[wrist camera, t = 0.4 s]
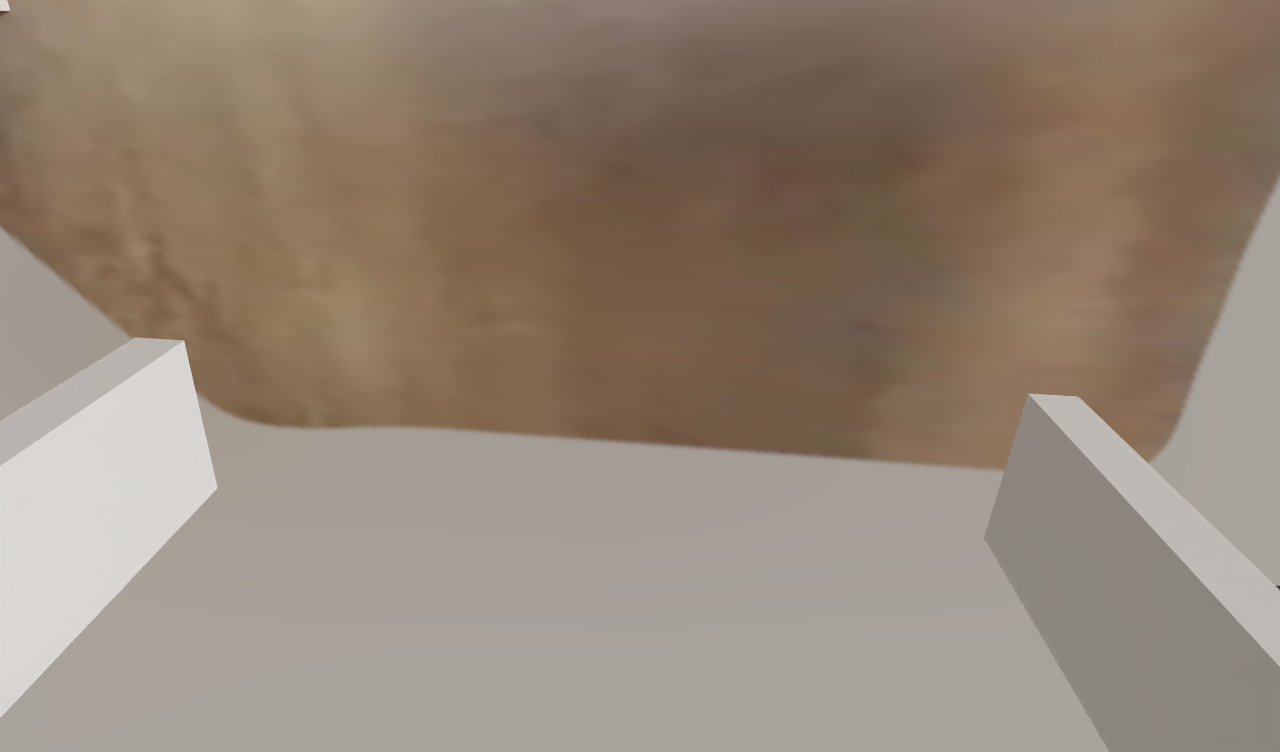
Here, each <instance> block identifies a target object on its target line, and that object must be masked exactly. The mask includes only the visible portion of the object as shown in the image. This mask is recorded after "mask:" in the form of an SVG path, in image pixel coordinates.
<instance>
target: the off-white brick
mask: <svg viewBox="0 0 1280 752" xmlns="http://www.w3.org/2000/svg"><path fill="white" fill-rule="evenodd" d="M0 11H10V9H9V5H8V2H7V0H0Z"/></svg>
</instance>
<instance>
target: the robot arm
mask: <svg viewBox="0 0 1280 752" xmlns="http://www.w3.org/2000/svg"><path fill="white" fill-rule="evenodd" d="M216 489H217V484H216V479H215V475H214V470H213V466H212V462H211V457H210V453H209V449H208V444H207V440H206V435H205V431H204V427H203V422H202V418H201V413H200V409H199V405H198V401H197V396H196V392H195V387H194V383H193V378H192V374H191V370H190V365H189V361H188V356H187V352H186V348H185V343H184V341H181V340H165V339H149V338H134V339H132V340H131V341H129V342H127V343H126V344H124V345H123V346H121V347H119V348H118V349H116V350H115V351H113V352H111V353H110V354H108V355H106V356H105V357H103V358H102V359H100V360H98V361H97V362H95V363H93V364H92V365H90V366H89V367H87V368H85V369H84V370H82V371H80V372H79V373H77V374H75V375H74V376H72V377H71V378H69V379H67V380H66V381H64V382H62V383H61V384H59V385H58V386H56V387H54V388H53V389H51V390H49V391H48V392H46V393H45V394H43V395H41V396H40V397H38V398H36V399H35V400H33V401H32V402H30V403H28V404H27V405H25V406H24V407H22V408H20V409H19V410H17V411H15V412H14V413H12V414H10V415H9V416H7V417H5V418H4V419H2V420H1V421H0V717H1V716H2V715H3V714H4V713H5V712H6V711H7V710H8V709H9V708H10V707H11V706H12V705H13V704H14V703H15V701H16V700H17V699H18V698H19V697H20V696H21V695H22V694H23V693H24V692H25V691H26V690H27V689H28V688H29V687H30V686H31V685H32V683H33V682H34V681H35V680H36V679H37V678H38V677H39V676H40V675H41V674H42V673H43V672H44V671H45V670H46V669H47V668H48V667H49V666H50V664H51V663H52V662H53V661H54V660H55V659H56V658H57V657H58V656H59V655H60V654H61V653H62V652H63V651H64V650H65V649H66V648H67V647H68V646H69V644H70V643H71V642H72V641H73V640H74V639H75V638H76V637H77V636H78V635H79V634H80V633H81V632H82V630H84V629H85V628H86V626H87V625H88V624H89V623H90V622H91V621H92V620H93V619H94V618H95V617H96V616H97V615H98V614H99V613H100V612H101V611H102V610H103V609H104V607H105V606H106V605H107V604H108V603H109V602H110V601H111V600H112V599H113V598H114V596H116V595H117V594H118V593H119V592H120V591H121V590H122V588H123V587H124V586H125V585H126V584H127V583H128V582H129V581H130V580H131V579H132V578H133V577H134V576H135V575H136V574H137V573H138V572H139V571H140V569H141V568H142V567H143V566H144V565H145V564H146V563H147V562H148V561H149V560H150V559H151V558H152V557H153V556H154V555H155V554H156V553H157V551H158V550H159V549H160V548H161V547H162V546H163V545H164V544H165V543H166V542H167V541H168V540H169V539H170V538H171V537H172V536H173V534H175V532H176V531H177V530H178V529H179V528H180V527H181V526H182V525H183V524H184V523H185V522H186V521H187V520H188V519H189V518H190V516H192V514H193V513H194V512H195V511H196V510H197V509H198V508H199V507H200V506H201V505H202V504H203V503H204V502H205V501H206V500H207V499H208V498H209V497H210V496H211V494H212V493H213V492H214V491H215V490H216ZM984 539H985V541H986V542H987V544H988V545H989V547H990V549H991V551H992V552H993V554H994V556H995V558H996V559H997V561H998V563H999V564H1000V566H1001V568H1002V570H1003V571H1004V573H1005V575H1006V576H1007V578H1008V579H1009V581H1010V583H1011V585H1012V587H1013V588H1014V590H1015V592H1016V593H1017V595H1018V597H1019V598H1020V600H1021V602H1022V604H1023V605H1024V607H1025V609H1026V610H1027V612H1028V614H1029V615H1030V617H1031V619H1032V621H1033V622H1034V624H1035V626H1036V627H1037V629H1038V631H1039V633H1040V634H1041V636H1042V638H1043V639H1044V641H1045V643H1046V644H1047V646H1048V648H1049V650H1050V651H1051V653H1052V655H1053V656H1054V658H1055V660H1056V661H1057V663H1058V665H1059V667H1060V668H1061V670H1062V672H1063V673H1064V675H1065V677H1066V679H1067V680H1068V682H1069V683H1070V685H1071V687H1072V689H1073V691H1074V692H1075V694H1076V696H1077V697H1078V699H1079V701H1080V702H1081V704H1082V706H1083V707H1084V709H1085V711H1086V713H1087V714H1088V716H1089V718H1090V719H1091V721H1092V723H1093V725H1094V726H1095V728H1096V730H1097V731H1098V733H1099V735H1100V736H1101V738H1102V740H1103V742H1104V743H1105V745H1106V747H1107V748H1108V750H1109V752H1280V586H1275V585H1273V583H1272V582H1271V581H1270V580H1269V579H1268V578H1266V577H1265V576H1264V575H1263V574H1262V573H1261V572H1260V571H1259V570H1258V569H1257V568H1256V567H1255V566H1254V565H1253V564H1252V563H1251V562H1250V561H1249V560H1248V559H1247V558H1246V557H1245V556H1244V555H1243V554H1242V553H1240V552H1239V551H1238V550H1237V549H1236V548H1235V547H1234V546H1233V545H1232V544H1231V543H1230V542H1229V541H1228V540H1227V539H1226V538H1225V537H1224V536H1223V535H1222V534H1221V533H1220V532H1219V531H1218V530H1217V529H1216V528H1214V527H1213V526H1212V525H1211V524H1210V523H1209V522H1208V521H1207V520H1206V519H1205V518H1204V517H1203V516H1202V515H1201V514H1200V513H1199V512H1198V511H1197V510H1196V509H1195V508H1194V507H1192V506H1191V504H1189V503H1188V502H1187V501H1186V500H1185V499H1184V498H1183V497H1182V496H1181V495H1180V494H1179V493H1178V492H1177V491H1176V490H1175V489H1174V488H1173V487H1172V486H1171V485H1170V484H1169V483H1168V482H1167V481H1166V480H1164V479H1163V478H1162V477H1161V476H1160V475H1159V474H1158V473H1157V472H1156V471H1155V470H1154V469H1153V468H1152V467H1151V466H1150V465H1149V464H1148V463H1147V462H1146V461H1145V460H1144V459H1143V458H1142V457H1141V456H1139V455H1138V454H1137V453H1136V452H1135V451H1134V450H1133V449H1132V448H1131V447H1130V446H1129V445H1128V444H1127V443H1126V442H1125V441H1124V440H1123V439H1122V438H1121V437H1120V436H1119V435H1118V434H1117V433H1116V432H1114V431H1113V430H1112V429H1111V428H1110V427H1109V426H1108V425H1107V424H1106V423H1105V422H1104V421H1103V420H1102V419H1101V418H1100V417H1099V416H1098V415H1097V414H1096V413H1095V412H1094V411H1093V410H1092V409H1091V408H1089V407H1088V406H1087V405H1086V404H1085V403H1084V402H1083V401H1082V400H1081V399H1080V398H1079V397H1073V396H1057V395H1041V394H1028V396H1027V400H1026V403H1025V406H1024V409H1023V413H1022V416H1021V419H1020V423H1019V426H1018V429H1017V432H1016V436H1015V439H1014V442H1013V445H1012V449H1011V452H1010V455H1009V458H1008V462H1007V465H1006V468H1005V471H1004V475H1003V478H1002V481H1001V484H1000V488H999V491H998V494H997V497H996V501H995V504H994V507H993V511H992V514H991V517H990V520H989V523H988V527H987V530H986V533H985V537H984Z"/></svg>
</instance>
